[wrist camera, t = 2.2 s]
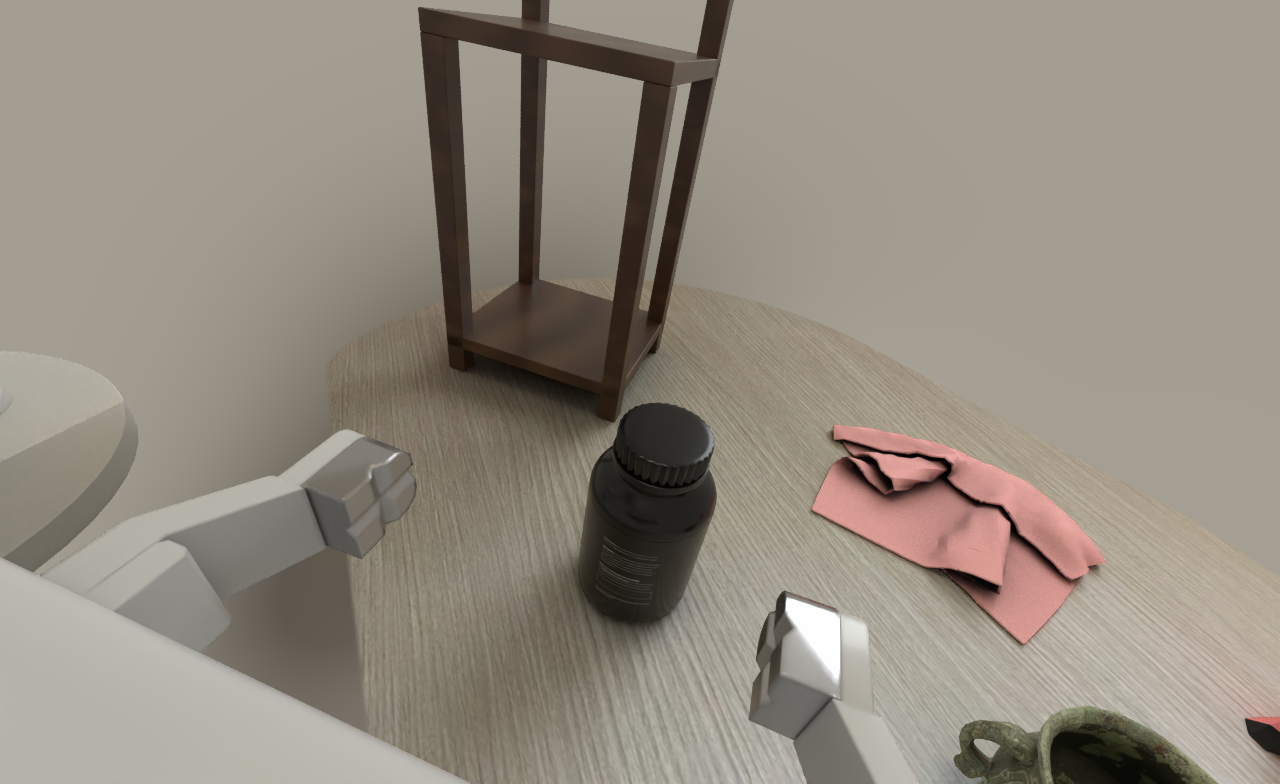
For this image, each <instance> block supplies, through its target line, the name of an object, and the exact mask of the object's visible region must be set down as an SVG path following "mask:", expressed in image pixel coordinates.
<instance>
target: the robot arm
mask: <svg viewBox="0 0 1280 784" xmlns="http://www.w3.org/2000/svg"><path fill="white" fill-rule="evenodd" d="M11 402H12V397H11V396H10V395H9V394H8V393H7V392H6V391H5V390H4V389H3V388H1V387H0V415H1V414H2V413H3V412H4V411H5V410H6V409H7V408H8V407H9V405H10V404H11ZM412 465H413V463H412V458H411V454H410V453H408V452H405V451H403V450H400V449H397V448H395V447H392V446H390V445H387V444H385V443H382V442H380V441H377V440H374V439H372V438H369V437H367V436H365V435H362V434H359V433H356V432H354V431H351V430H348V429H345V430H342V431H338V432H336V433H335V434H334V435H332V436H331V437H330V438H328V439H327V440H326V441H325V442H323V443H322V444H320V445H319V446H318V447H316V448H315V449H314V450H313V451H311V452H310V453H309V454H307V455H306V456H305V457H303V458H302V459H301V460H299V461H298V462H297V463H295V464H294V465H293V466H292V467H290V468H289V469H287V470H286V471H285V472H283V473H282V474H281V475H279V476H278V477H276V476H273V475H270V476H267V477H264V478H260V479H256V480H253V481H250V482H246V483H243V484H240V485H236V486H233V487H230V488H226V489H223V490H220V491H216V492H213V493H210V494H207V495H203V496H200V497H197V498H193V499H190V500H187V501H183V502H180V503H176V504H173V505H170V506H167V507H163V508H160V509H156V510H154V511H150V512H146V513H143V514H140V515H137V516H133V517H130V518H127V519H125V520H123V521H122V522H121V523H119V524H117V525H116V526H114V527H113V528H111V529H110V530H108V531H107V532H105V533H104V534H102V535H101V536H99V537H98V538H96V539H94V540H93V541H92V542H90V543H89V544H87V545H85V546H84V547H82V548H81V549H79V550H78V551H76V552H75V553H73V554H72V555H70V556H69V557H67V558H65V559H64V560H62V561H61V562H59V563H58V564H57V565H55V566H53V567H52V568H51V569H49V570H47V571H46V572H44V573H43V574H41V575H40V576H39V575H37V574H35V573H33V572H30V571H28V570H26V569H24V568H22V567H20V566H18V565H16V564H14V563H12V562H10V561H8V560H5V559H3V558H1V557H0V784H471V783H469V782H467V781H465V780H463V779H461V778H459V777H457V776H455V775H453V774H451V773H449V772H447V771H444V770H442V769H440V768H438V767H436V766H434V765H432V764H430V763H428V762H426V761H424V760H422V759H419V758H417V757H415V756H413V755H411V754H409V753H407V752H405V751H403V750H401V749H399V748H397V747H395V746H392V745H390V744H388V743H386V742H384V741H382V740H380V739H378V738H376V737H374V736H372V735H370V734H367V733H365V732H363V731H361V730H359V729H357V728H355V727H353V726H351V725H349V724H346V723H345V722H343V721H340V720H338V719H336V718H334V717H332V716H330V715H328V714H325V713H324V712H321V711H320V710H318V709H315V708H313V707H311V706H309V705H307V704H305V703H303V702H301V701H299V700H297V699H295V698H293V697H291V696H288V695H286V694H284V693H282V692H280V691H278V690H276V689H273V688H272V687H270V686H268V685H265V684H263V683H261V682H259V681H257V680H255V679H253V678H251V677H249V676H247V675H245V674H243V673H241V672H238V671H236V670H234V669H232V668H230V667H228V666H226V665H224V664H222V663H220V662H218V661H216V660H214V659H211V658H209V657H207V656H205V655H203V654H201V653H202V652H203V651H204V650H205V649H206V648H207V647H208V646H209V645H210V644H211V643H212V642H213V641H214V640H215V639H217V638H218V637H219V636H220V635H221V634H222V633H223V632H224V631H225V630H226V629H227V628H228V627H229V626H230V625H231V619H232V617H231V615H230V614H229V612H228V611H227V609H226V608H225V606H224V605H223V603H222V602H221V600H223V599H225V598H227V597H229V596H231V595H233V594H235V593H237V592H239V591H241V590H244V589H245V588H247V587H250V586H252V585H254V584H256V583H258V582H260V581H262V580H264V579H266V578H268V577H270V576H272V575H274V574H276V573H278V572H279V571H282V570H284V569H286V568H288V567H290V566H292V565H294V564H296V563H298V562H300V561H302V560H304V559H306V558H308V557H310V556H312V555H314V554H316V553H318V552H320V551H322V550H324V549H326V548H327V547H326V546H329V547H331V548H334V549H336V550H339V551H342V552H344V553H347V554H350V555H352V556H355V557H357V558H360V559H363V557H364V556H365V555H366V554H367V553H368V552H369V551H370V550H371V549H372V548H373V547H374V546H375V545H376V544H377V543H378V542H379V540H380V539H381V538H382V537H383V536H384V535H385V528H386V524H388V523H391V522H393V521H396V520H398V519H400V518H401V517H402V516H403V515H404V513H405V512H406V511H407V510H408V509H409V507H410V505H411V503H412V501H413V499H414V497H415V494H416V488H417V486H416V479H415V478H414V476H413V475H412V474H411V472H410V471H409V470H408V469H409V468H410V467H411V466H412ZM756 661H757V663H758V665H759V668H760V670H761V671H760V673H759V674H758V676H757V678H756V679H755V681H754V682H753V687H752V696H751V704H750V713H749V720H750V721H752V722H754V723H757V724H759V725H761V726H763V727H765V728H768V729H770V730H772V731H774V732H777V733H779V734H781V735H783V736H786V737H788V738H790V739H792V740H795V741H794V742H793V744H794V747H795V750H796V752H797V755H798V758H799V761H800V764H801V767H802V769H803V772H804V775H805V778H806V781H807V784H920V783H919V781H918V779H917V777H916V775H915V774H914V772H913V770H912V768H911V767H910V765H909V763H908V761H907V759H906V758H905V756H904V754H903V752H902V751H901V749H900V747H899V745H898V743H897V742H896V740H895V738H894V736H893V735H892V733H891V731H890V729H889V727H888V726H887V724H886V722H885V720H884V719H883V718H881V717H879V716H877V715H875V713H874V699H873V684H872V670H871V655H870V641H869V627H868V625H867V623H866V621H865V620H864V619H861V618H859V617H856V616H853V615H850V614H847V613H844V612H841V611H839V610H836V608H833V607H830V606H827V605H824V604H821V603H819V602H816V601H813V600H810V599H807V598H804V597H802V596H799V595H796V594H793V593H790V592H787V591H783V592H782V593H781V594H780V596H779V597H778V599H777V602H776V611H773V612H770V613H769V614H768V616H767V618H766V620H765V622H764V625H763V628H762V631H761V634H760V638H759V643H758V649H757V656H756Z"/></svg>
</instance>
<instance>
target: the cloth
mask: <svg viewBox="0 0 1280 784" xmlns="http://www.w3.org/2000/svg"><path fill="white" fill-rule="evenodd" d="M833 429H834V440H841V441H842V443H843V444H844V446H845V447H846V448H847V450H848V451H849V452H850V453H851V454H852V455H854V456H856V457H872V458H874V459H875V460H877V462H878V463H872V462H865V461H862V460H858V459H855V458H852V457H842V458H839V459H838V460H837V461H836V462H835V463H833V465H832V467H831V468H830V470H829V472H828V474H827V476H826V478H825V480H824V482H823V485H822V487H821V489H820V491H819V493H818V495H817V497H816V500H815V503H814V505H813V507H812V509H811V511H813V512H815V513H817V514H819V515H821V516H823V517H825V518H827V519H829V520H830V521H832V522H834V523H836V524H838V525H840V526H842V527H844V528H846V529H848V530H850V531H852V532H854V533H856V534H858V535H860V536H862V537H864V538H866V539H867V540H869V541H871V542H873V543H875V544H877V545H879V546H881V547H883V548H885V549H887V550H889V551H891V552H893V553H895V554H897V555H899V556H901V557H903V558H905V559H907V560H909V561H912V562H914V563H916V564H918V565H920V566H922V567H926V568H941V569H942V570H943V571H944V572H945V573H946V574H947V575H948V576H949V577H950V578H951V579H952V580H953V581H955V582H956V583H957V584H958V585H959V586H960V587H962V588H963V589H964V590H965V591H966V592H967V593H968V594H969V595H970V596H971V597H972V598H973V599H974V601H975V602H976V603H977V604H978V605H979V606H980V607H982V608H983V609H984V610H985V611H986V612H987V613H988V614H989V615H990V616H991V617H992V618H993V619H994V620H996V621H997V622H998V623H999V624H1000V625H1001V626H1002V627H1003V628H1004V629H1005V630H1006V631H1008V632H1009V633H1010V634H1011V635H1012V636H1013V637H1014V638H1015V639H1016V640H1018V641H1019V642H1020V643H1021V644H1022V645H1023V644H1025V643H1026V642H1027V641H1028V640H1029V639H1030V638H1031V637H1032V636H1033V635H1034V634H1035V633H1036V632H1037V631H1038V630H1039V629H1040V628H1041V627H1042V626H1043V625H1044V624H1045V623H1046V622H1047V621H1048V619H1049V618H1050V617H1051V616H1052V615H1053V613H1054V612H1055V611H1056V610H1057V609H1058V608H1059V607H1060V606H1061V604H1062V603H1063V601H1064V600H1065V598H1066V597H1067V595H1068V594H1069V593H1070V592H1071V591H1072V590H1073V588H1074V587H1075V585H1076V584H1077V583H1078V581H1079V579H1078V577H1080V576H1082V575H1085V574H1086V573H1087V572H1088V571H1089V568H1088V566H1092V565H1096V564H1100V563H1104V562H1106V561H1105V560H1104V558H1103V556H1102V555H1101V553H1100V552H1099V550H1098V549H1097V548H1096V546H1095V545H1094V544H1093V543H1092V541H1091V540H1090V539H1089V537H1088V536H1087V535H1086V534H1085V533H1083V532H1082V531H1081V530H1080V529H1079V527H1078V526H1077V524H1076V523H1075V522H1074V521H1073V520H1072V519H1070V518H1069V517H1068V516H1067V515H1066V514H1065V513H1064V512H1063V511H1062V510H1061V509H1060V508H1058V507H1057V506H1056V505H1055V504H1054V503H1053V502H1052V501H1051V500H1050V499H1049V498H1047V497H1046V496H1045V495H1044V494H1042V493H1041V492H1040V491H1038V490H1037V489H1035V488H1034V487H1032V486H1031V485H1030V484H1029V483H1027V482H1026V481H1024V480H1022V479H1019V478H1017V477H1015V476H1013V475H1011V474H1009V473H1005V472H1004V471H1002V470H1001V469H999V468H997V467H994V466H992V465H989V464H983V463H982V462H980V461H978V460H976V459H973V458H970V457H969V456H968V455H966V454H964V453H962V452H960V451H958V450H955V449H952V448H949V447H946V446H943V445H940V444H937V443H935V442H932V441H927V440H920V439H914V438H911V437H908V436H905V435H901V434H896V433H888V432H883V431H880V430H877V429H872V428H864V427H848V426H841V425H834V426H833Z"/></svg>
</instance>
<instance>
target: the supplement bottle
mask: <svg viewBox="0 0 1280 784" xmlns="http://www.w3.org/2000/svg"><path fill="white" fill-rule="evenodd" d="M712 436H713V433H712V432H711V431H710V427H709V426H708V425H706V423H705V421H703V420H702V419H700V417H699V416H697V415H695V414H694V413H693V412H691V411H688V410H686V409H685V408H681V407H678V406H676V405H670V404H667V403H664V404H662V403H648V404H642V405H640V406H636V407H634V408H633V409H631V410H629V411H628V413H626V414H624V416H623V418H622V419H621V420H620V423H619V427H618V431H617V436H616V438H615V441H614V444H613V446H611V447H610V448H608V449H607V450H606V451H605V452H604V453H603V454H602V455H601V456H600V457H599V459H598V460H597V461H596V463H595V465H594V467H593V470H592V473H591V478H590V483H589V490H588V497H587V504H586V511H585V519H584V526H583V533H582V540H581V548H580V555H579V565H578V573H579V579H580V583H581V586H582V589H583V591H584V593H585V595H586V596H587V598H588V599H589V601H590V602H591V603H592V604H593V605H594V606H595V607H596V608H597V609H598V610H599V611H601V612H602V613H604V614H605V615H607V616H609V617H611V618H613V619H615V620H618V621H622V622H627V623H646V622H651V621H654V620H657V619H659V618H661V617H663V616H665V615H666V614H668V613H669V612H670V611H671V610H673V609H674V608H675V606H676V605H677V604H678V603H679V601H680V600H681V598H682V596H683V594H684V591H685V589H686V586H687V584H688V581H689V578H690V576H691V573H692V570H693V568H694V565H695V562H696V559H697V557H698V554H699V551H700V549H701V546H702V543H703V540H704V538H705V535H706V532H707V529H708V527H709V524H710V521H711V519H712V516H713V513H714V510H715V506H716V499H717V493H716V486H715V482H714V479H713V477H712V474H711V472H710V471H709V466H710V459H711V456H712V453H713V450H714V438H713V437H712Z"/></svg>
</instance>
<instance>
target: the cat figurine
mask: <svg viewBox="0 0 1280 784" xmlns="http://www.w3.org/2000/svg"><path fill="white" fill-rule="evenodd" d="M1245 719H1246V723H1247V727H1248V731H1249V734H1250V735H1251V736H1252V737H1253V738H1254V739H1255V740H1256V741H1257V742H1258V743H1259V744H1260V745H1261V746H1262V747H1263V748H1264V749H1265V750H1267V751H1269V752H1272V753H1275V754H1277V755H1280V717H1258V718H1245Z"/></svg>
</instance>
